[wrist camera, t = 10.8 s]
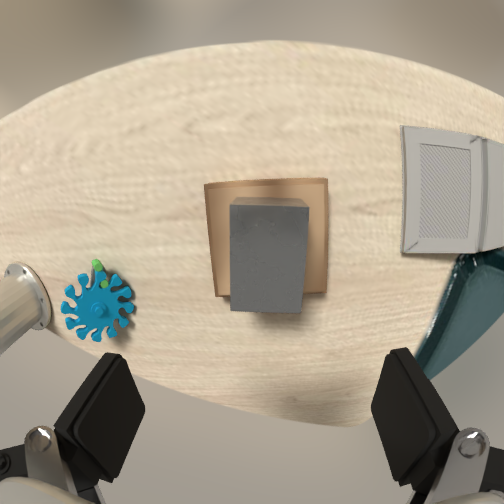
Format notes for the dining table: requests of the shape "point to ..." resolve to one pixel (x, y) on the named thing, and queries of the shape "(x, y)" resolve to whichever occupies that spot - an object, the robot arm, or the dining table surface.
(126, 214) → the dining table surface
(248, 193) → the stand
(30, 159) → the dining table surface
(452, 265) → the dining table surface
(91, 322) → the gear
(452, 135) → the grey folded flat piece
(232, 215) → the grey rectangular block
